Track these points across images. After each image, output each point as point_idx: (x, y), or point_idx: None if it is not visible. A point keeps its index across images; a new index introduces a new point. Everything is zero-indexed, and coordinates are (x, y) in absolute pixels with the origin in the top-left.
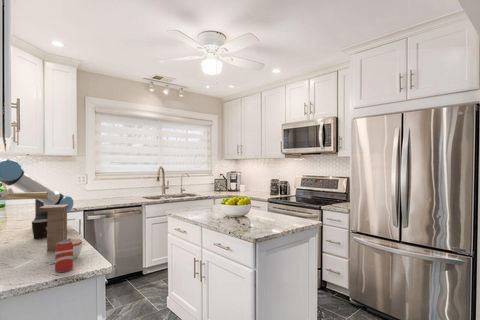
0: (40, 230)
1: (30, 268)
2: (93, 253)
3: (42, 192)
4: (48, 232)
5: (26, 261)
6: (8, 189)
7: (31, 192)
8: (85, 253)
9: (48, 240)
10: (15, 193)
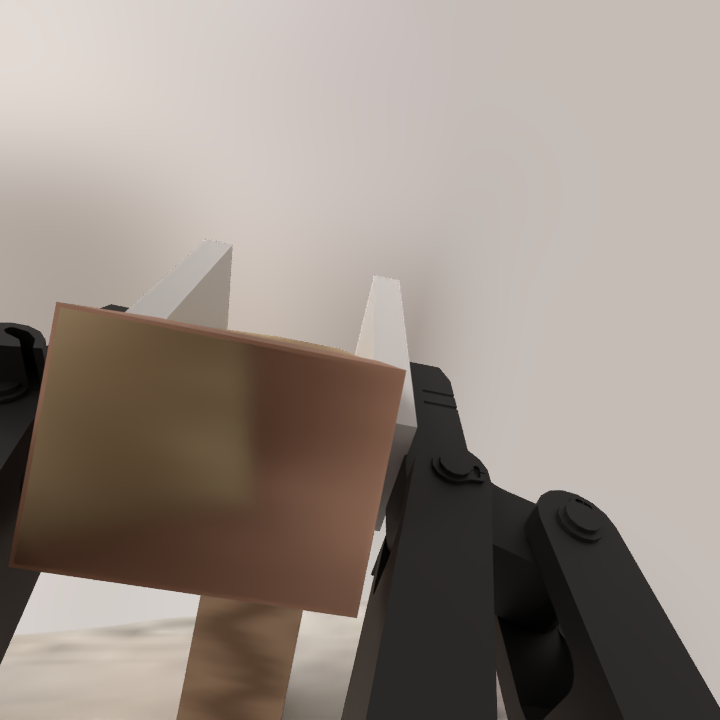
0: None
1: None
2: (367, 604)
3: (311, 343)
4: (298, 631)
5: None
6: (221, 261)
7: (277, 337)
8: (361, 622)
9: (287, 686)
10: (341, 351)
